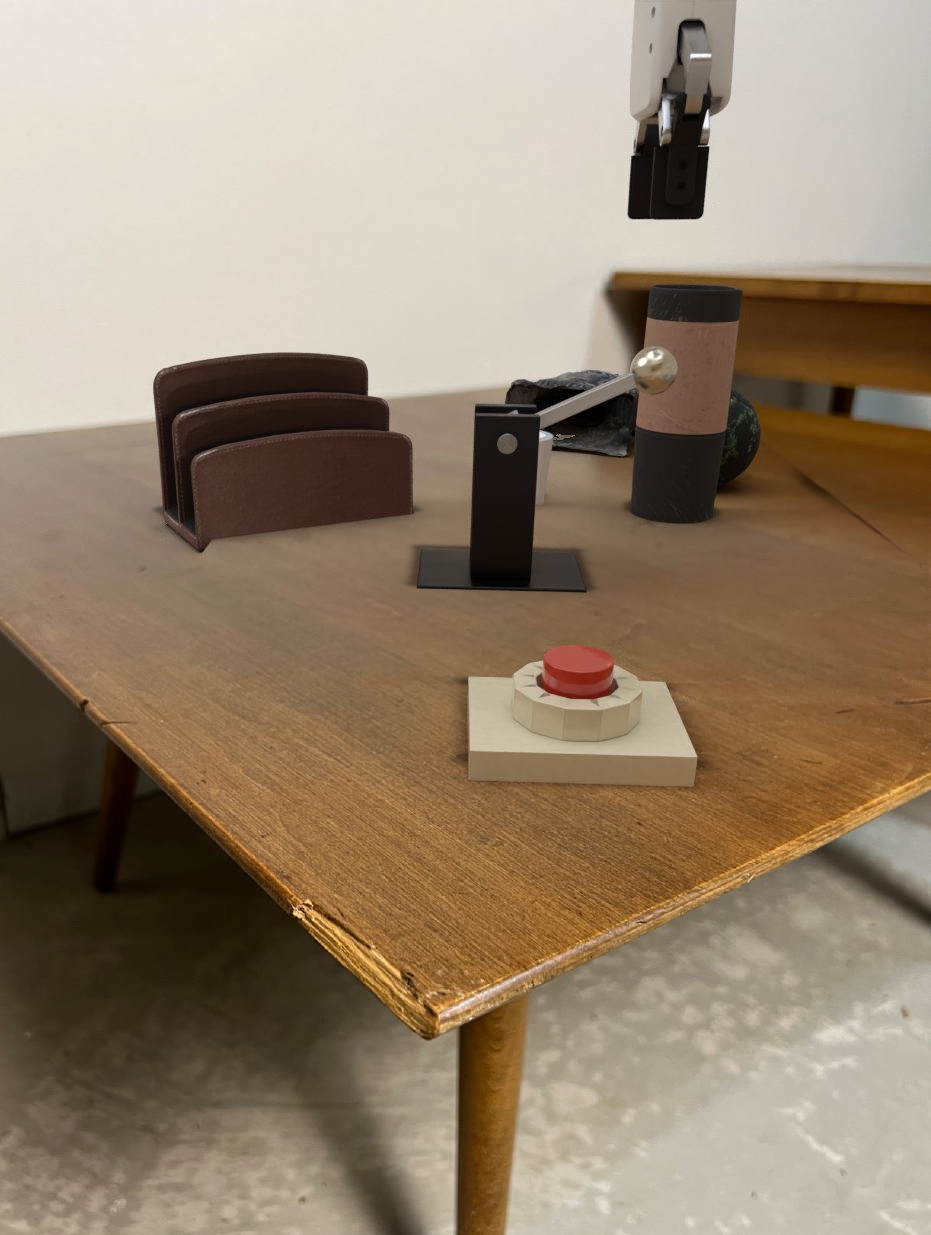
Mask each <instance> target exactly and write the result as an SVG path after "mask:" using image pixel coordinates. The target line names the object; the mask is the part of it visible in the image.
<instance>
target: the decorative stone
mask: <svg viewBox="0 0 931 1235" xmlns="http://www.w3.org/2000/svg"><path fill="white" fill-rule="evenodd" d="M725 431H726V434H725V440H724V446H723V452H722V459H721V465H720V471H719V477H718V483H717V487H720V486H723V485H725V484H727V483H729V482H732V481H733V480H735V479H737V478H738V477H739V476H741V475H742V474H743V473H744V472H745V471H746V470H747V469H748V468H749V466H750V465H751V464H752V462H753V461H754V459H755V457H756V455H757V453H758V450H759V447H760V443H761V435H762V434H761V433H762V432H761V424H760V420H759V416H758V414H757V412H756V409H755V407H754V406H753V405H752V403H751V401H750V400H748V399H747V398H746V396H744V395H743V394H742V393H740V392H738V391H737V390H735V389H733V388H731V393H730V402H729V410H728V418H727V427H726V430H725Z"/></svg>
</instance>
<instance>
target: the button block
mask: <svg viewBox="0 0 931 1235" xmlns="http://www.w3.org/2000/svg"><path fill="white" fill-rule="evenodd" d="M542 670H543V659H542V660H539V661H534V662H529V663H526V664H525V665H524V666H522V667H521V668H520V669H518V670H517V671H515V672H514V673H513V675H512V677H502V676H501V677H500V676H499V677H497V676H468V677H467V698H466V699H467V701H466V702H467V704H466V706H467V708H466V709H467V713H466V714H467V761H468V762H467V768H468V769H467V770H468V772H467V773H468V774H467V776H468V777H467V778H468V781H473V782H474V781H475V782H476V781H477V782H478V781H479V782H506V783H507V782H508V783H509V782H510V783H511V782H512V783H542V784H543V783H544V784H547V783H548V784H575V785H577V784H579V785H582V784H583V785H611V786H612V785H613V786H615V785H617V786H645V787H647V786H648V787H677V788H679V787H682V788H683V787H684V788H694V787H695V780H696V774H697V765H698V758H699V757H698V754H697V752H696V750H695V747H694V745H693V743H692V741H691V738H690V736H689V734H688V731H687V729H686V727H685V725H684V722H683V720H682V717H681V715H680V712H679V710H678V709H677V708H678V707H677V706H676V703H675V701H674V699H673V697H672V695H671V692H670V691H669V688H668V685H667V683H666V681H654V680H651V681H650V680H639V678H638V677H637V675H634V674H633V673H631V672H629V671H627V670H626V669H624V668H622V667H620V666H618V665H616V664H614V673H613V683H612V692H611V694H610V696H605V697H601V698H597V699H569V698H565V697H561V696H557V695H553V694H549V693H548V692H546V691H545V690H543V689H542V687H541V685H542Z"/></svg>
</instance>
